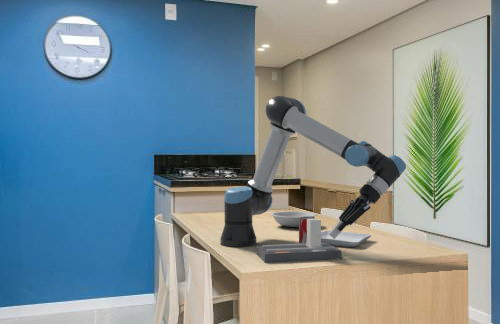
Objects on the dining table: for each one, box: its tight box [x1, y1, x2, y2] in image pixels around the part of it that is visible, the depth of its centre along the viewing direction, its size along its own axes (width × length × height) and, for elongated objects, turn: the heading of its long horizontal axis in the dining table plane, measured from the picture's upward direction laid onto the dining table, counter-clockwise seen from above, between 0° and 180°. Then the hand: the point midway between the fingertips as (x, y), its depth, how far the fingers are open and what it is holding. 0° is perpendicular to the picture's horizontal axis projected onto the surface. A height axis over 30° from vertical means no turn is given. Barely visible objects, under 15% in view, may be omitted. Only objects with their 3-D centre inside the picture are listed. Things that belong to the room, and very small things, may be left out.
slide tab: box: [306, 218, 322, 248], centre depth 165 cm, size 6×4×10 cm, turn 11°
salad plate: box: [321, 230, 372, 248], centre depth 192 cm, size 21×21×3 cm
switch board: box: [256, 243, 342, 263], centre depth 164 cm, size 13×28×4 cm, turn 101°
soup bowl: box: [270, 210, 318, 228], centre depth 236 cm, size 24×24×7 cm
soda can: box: [298, 216, 316, 244], centre depth 182 cm, size 7×7×12 cm
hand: (331, 235), depth 166 cm, fingers closed
